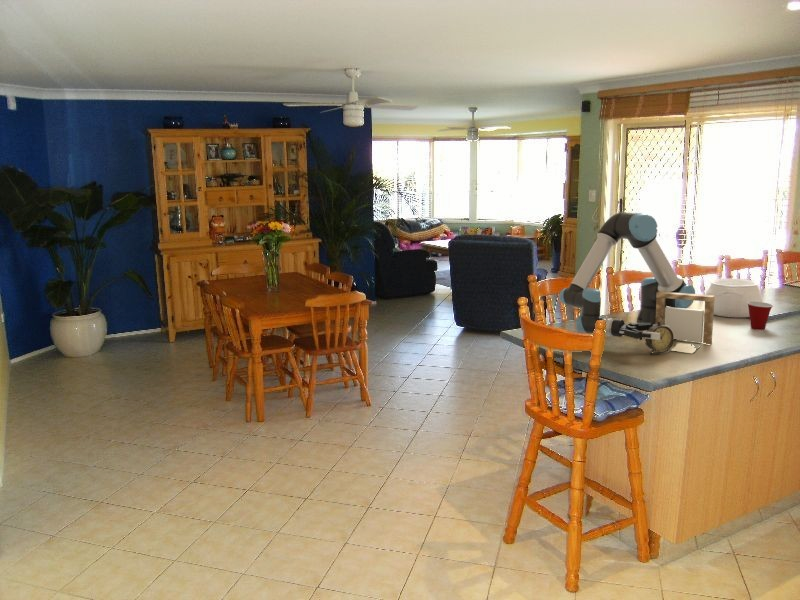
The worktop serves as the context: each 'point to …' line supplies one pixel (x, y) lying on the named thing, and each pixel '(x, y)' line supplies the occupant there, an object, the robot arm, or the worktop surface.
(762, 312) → the plastic cup
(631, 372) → the worktop surface
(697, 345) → the pad
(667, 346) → the alarm clock
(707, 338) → the door frame
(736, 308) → the white pet bowl
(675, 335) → the door
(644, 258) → the robot arm
